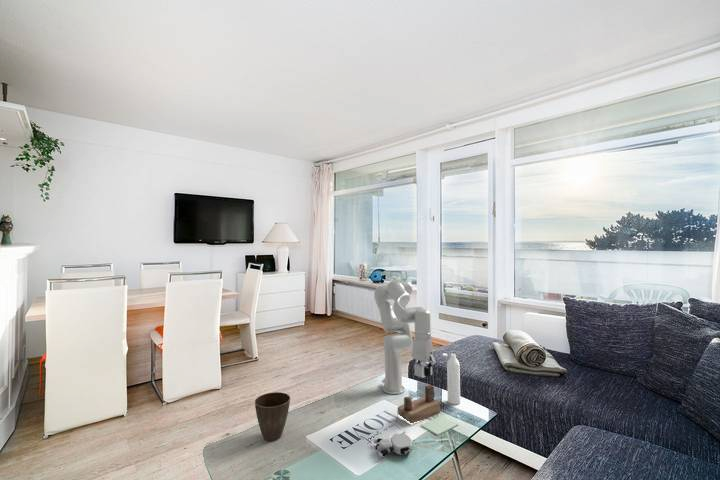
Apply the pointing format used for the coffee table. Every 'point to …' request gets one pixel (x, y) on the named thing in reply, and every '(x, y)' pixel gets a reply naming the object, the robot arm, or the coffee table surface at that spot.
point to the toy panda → (394, 445)
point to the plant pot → (272, 414)
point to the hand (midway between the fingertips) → (423, 373)
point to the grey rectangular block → (420, 369)
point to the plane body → (420, 406)
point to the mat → (439, 425)
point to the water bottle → (453, 379)
